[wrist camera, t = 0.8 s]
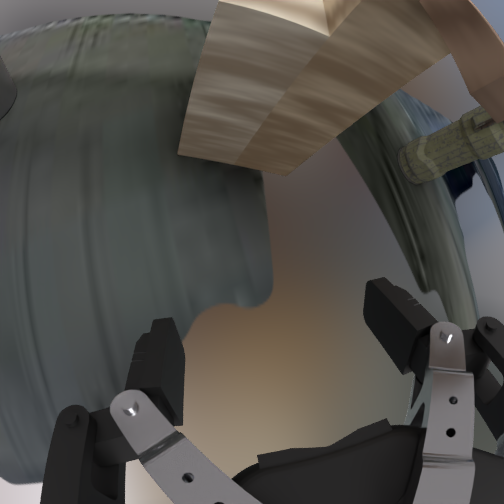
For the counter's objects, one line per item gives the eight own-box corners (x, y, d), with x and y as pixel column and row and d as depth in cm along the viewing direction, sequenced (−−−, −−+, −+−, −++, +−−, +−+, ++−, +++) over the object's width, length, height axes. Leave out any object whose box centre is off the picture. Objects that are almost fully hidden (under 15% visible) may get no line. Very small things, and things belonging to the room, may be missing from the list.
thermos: (387, 144, 50) (525, 68, 17) (418, 149, 54) (538, 91, 21) (400, 185, 49) (552, 123, 16) (430, 185, 53) (558, 137, 20)
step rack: (197, 72, 38) (267, -100, 8) (288, 95, 43) (406, -35, 13) (177, 154, 36) (253, -81, 6) (286, 176, 41) (466, 42, 11)
